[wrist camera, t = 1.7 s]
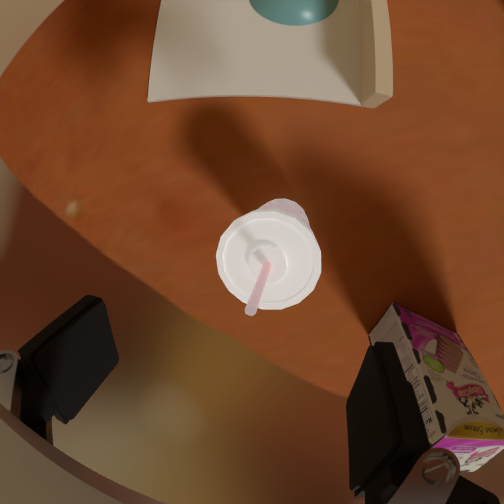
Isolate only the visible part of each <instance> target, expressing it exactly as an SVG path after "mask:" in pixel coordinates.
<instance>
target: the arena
mask: <svg viewBox="0 0 504 504" xmlns="http://www.w3.org/2000/svg"><path fill="white" fill-rule="evenodd" d="M228 96H258V97H284V98H298V99H310V100H320V101H328V102H336V103H343V104H350V105H356V106H362V107H368V108H373V109H374V108H375V107H377V106H378V105H380V104H382V103H383V102H385V101H386V100H388V99H389V98H391V97H393V66H392V46H391V33H390V22H389V13H388V6H387V0H161V5H160V10H159V15H158V20H157V26H156V32H155V38H154V45H153V52H152V60H151V69H150V78H149V89H148V102H158V101H167V100H177V99H188V98H203V97H228Z"/></svg>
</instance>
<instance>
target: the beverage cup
mask: <svg viewBox="0 0 504 504" xmlns="http://www.w3.org/2000/svg"><path fill="white" fill-rule="evenodd" d="M216 259H217V266H218V272H219V275H220V277H221V279H222V280H223V282H224V284H225V285H226V287H227V289H228V290H229V291H230V292H231V293H232V294H233V295H235V296H236V297H237V298H238V299H240V300H241V301H242V302H243V303H246V304H247V305H246V308H245V313H246V314H247V315H249V316H253V315H255V314H256V311H257V308H260V309H284V308H286V307H289V306H292V305H295V304H297V303H299V302H301V301H302V300H303V299H304V298H305V297H306V296H307V295H308V294H309V293H311V292H312V291H313V289H314V287H315V285H316V283H317V281H318V278H319V276H320V274H321V250H320V247H319V245H318V243H317V241H316V238H315V236H314V234H313V232H312V230H311V229H310V225H309V221H308V218H307V216H306V214H305V212H304V210H303V209H302V208H301V207H300V206H299V205H298V204H297V203H296V202H294V201H291V200H288V199H274V200H272V201H270V202H268V203H266V204H264V205H263V206H261V207H260V208H259V209H257V210H254V211H252V212H250V213H248V214H246V215H244V216H242V217H240V218H238V219H236V220H235V221H234V222H233V223H232V224H231V225H230V226H229V228H228V229H227V230H226V231H225V232H224V234H223V235H222V236H221V238H220V242H219V246H218V249H217V253H216Z"/></svg>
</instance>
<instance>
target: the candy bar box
mask: <svg viewBox="0 0 504 504" xmlns="http://www.w3.org/2000/svg"><path fill="white" fill-rule="evenodd" d="M368 337H369V341H370V345H371V346H374V343H375V342H377V341H379V342H393V343H394V345H395V348H396V351H397V353H398V356H399V359H400V362H401V365H402V368H403V370H404V373H405V376H406V379H407V381H409V382H410V383H411V384H412V386H413V389H414V392H415V395H416V398H417V401H418V404H419V408H420V411H421V414H422V418H423V421H424V425H425V428H426V432H427V436H428V440H429V443H430V447H431V449H432V448H445V449H448V450H450V451H451V452H453V453H454V454H455V455H456V457H457V458H458V460H459V463H460V473H461V472H473V471H475V470H477V469H478V468H480V467H481V466H483V465H484V464H485V463H486V462H488V461H489V460H491V459H492V458H493V457H495V456H496V455H497V454H498V453H499V452H500V451H502V450H504V415H503V413H502V411H501V409H500V407H499V405H498V402H497V400H496V398H495V396H494V395H493V393H492V391H491V389H490V387H489V385H488V384H487V382H486V380H485V378H484V376H483V375H482V373H481V371H480V369H479V367H478V366H477V364H476V362H475V361H474V359H473V357H472V356H471V354H470V352H469V351H468V349H467V347H466V346H465V344H464V343H463V341H462V339H461V338H460V336H459V334H458V333H456V332H454V331H451V330H449V329H447V328H445V327H443V326H441V325H439V324H437V323H435V322H433V321H431V320H429V319H427V318H425V317H423V316H420V315H418V314H416V313H414V312H412V311H410V310H408V309H406V308H404V307H402V306H400V305H398V304H396V303H394V302H392V304H391V305H390V306H389V307H388V309H387V310H386V312H385V313H384V315H383V317H382V318H381V319H380V321H379V322H378V323H377V324H376V326H375V327H374V328H373V330H372V331H371V332H370V334H369V335H368Z"/></svg>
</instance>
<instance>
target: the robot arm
mask: <svg viewBox="0 0 504 504" xmlns="http://www.w3.org/2000/svg"><path fill="white" fill-rule="evenodd" d="M18 352H19V354H20V356H21V359H20V360H19V359H18V357H17V355H16V354H15V353H14V352H12V351H2V352H0V504H167V503H164V502H161V501H158V500H156V499H153V498H150V497H148V496H145V495H143V494H140V493H138V492H136V491H133V490H131V489H129V488H127V487H125V486H122V485H120V484H118V483H116V482H114V481H112V480H110V479H108V478H106V477H104V476H102V475H100V474H98V473H97V472H95V471H93V470H91V469H89V468H88V467H85V466H84V465H82V464H81V463H79V462H77V461H76V460H74V459H72V458H71V457H69V456H68V455H66V454H65V453H63V452H62V451H60V450H59V449H57V448H56V447H54V446H53V434H52V418H51V417H52V416H53V415H54V416H55V417H56V419H58V420H59V421H61V422H63V423H64V424H67V423H68V421H69V420H72V419H73V418H74V417H75V416H76V415H77V414H78V412H79V411H80V410H81V408H82V407H83V406H84V405H85V403H86V402H87V401H88V400H89V398H90V397H91V396H92V395H93V393H94V392H95V391H96V390H97V388H98V387H99V386H100V385H101V383H102V382H103V381H104V379H105V378H106V377H107V376H108V375H109V373H110V372H111V371H112V370H113V369H114V367H115V366H116V365H117V363H118V360H119V356H118V352H117V349H116V345H115V342H114V338H113V335H112V330H111V327H110V323H109V318H108V314H107V309H106V305H105V303H103V300H102V299H101V298H99V297H96V296H92V295H86V296H85V297H83V298H82V299H81V300H79V301H78V302H77V303H76V304H74V305H73V306H72V307H71V308H69V309H68V310H67V311H65V312H64V313H63V314H61V315H60V316H59V317H58V318H56V319H55V320H54V321H53V322H52V323H50V324H49V325H48V326H46V327H45V328H44V329H43V330H42V331H40V332H39V333H38V334H37V335H35V336H34V337H33V338H32V339H31V340H30V341H28V342H27V343H26V344H25V345H24V346H22V347H21V348H20V349H19V350H18ZM346 414H347V428H348V446H349V486H350V490H355V497H365V504H500V502H499V499H498V498H497V497H496V496H495V495H494V494H493V493H491V492H489V491H487V490H485V489H484V488H482V487H480V486H478V485H476V484H474V483H472V482H471V481H469V480H467V479H465V478H464V477H462V476H460V475H459V474H460V463H459V460H458V458H457V457H456V455H455V454H454V453H453V452H451V451H450V450H448V449H445V448H432V449H431V447H430V443H429V440H428V436H427V432H426V428H425V425H424V421H423V418H422V414H421V411H420V408H419V404H418V401H417V398H416V395H415V392H414V389H413V386H412V384H411V383H410V382H409V381H407V379H406V376H405V373H404V370H403V368H402V365H401V362H400V359H399V356H398V353H397V351H396V348H395V345H394V343H393V342H379V341H377V342H375V343H374V346H369V347H368V350H367V352H366V355H365V358H364V360H363V363H362V366H361V368H360V371H359V373H358V376H357V378H356V381H355V383H354V385H353V388H352V390H351V392H350V395H349V397H348V399H347V404H346Z"/></svg>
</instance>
